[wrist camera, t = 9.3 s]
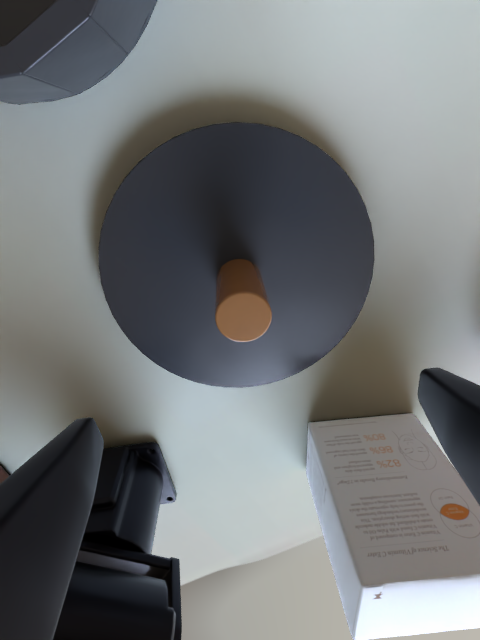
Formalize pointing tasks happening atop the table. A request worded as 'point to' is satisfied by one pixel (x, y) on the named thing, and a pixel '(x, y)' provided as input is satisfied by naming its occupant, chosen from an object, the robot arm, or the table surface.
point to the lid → (236, 254)
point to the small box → (395, 526)
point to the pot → (64, 45)
